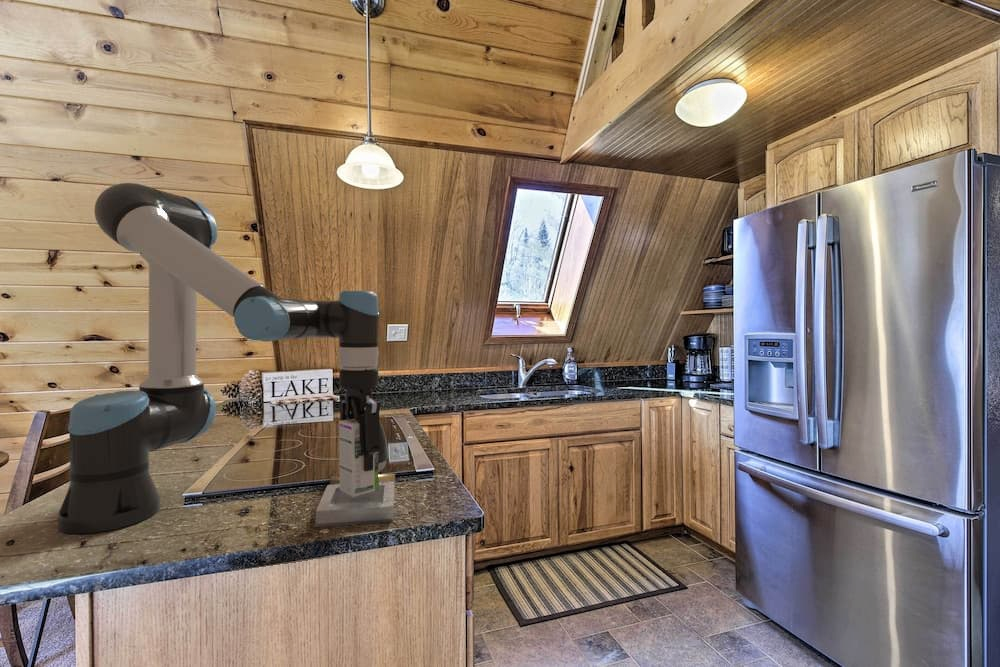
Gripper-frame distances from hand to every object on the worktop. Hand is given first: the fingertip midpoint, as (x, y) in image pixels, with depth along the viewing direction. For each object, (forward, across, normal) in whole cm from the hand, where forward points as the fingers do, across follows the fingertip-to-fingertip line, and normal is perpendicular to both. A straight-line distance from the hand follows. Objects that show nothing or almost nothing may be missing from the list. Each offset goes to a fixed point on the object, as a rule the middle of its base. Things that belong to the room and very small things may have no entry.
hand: (358, 481), depth 96 cm
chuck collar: (+6, 0, 0) cm, 6 cm away
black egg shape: (+6, +20, -12) cm, 24 cm away
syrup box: (+2, 0, 0) cm, 2 cm away
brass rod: (+6, +10, -6) cm, 13 cm away
